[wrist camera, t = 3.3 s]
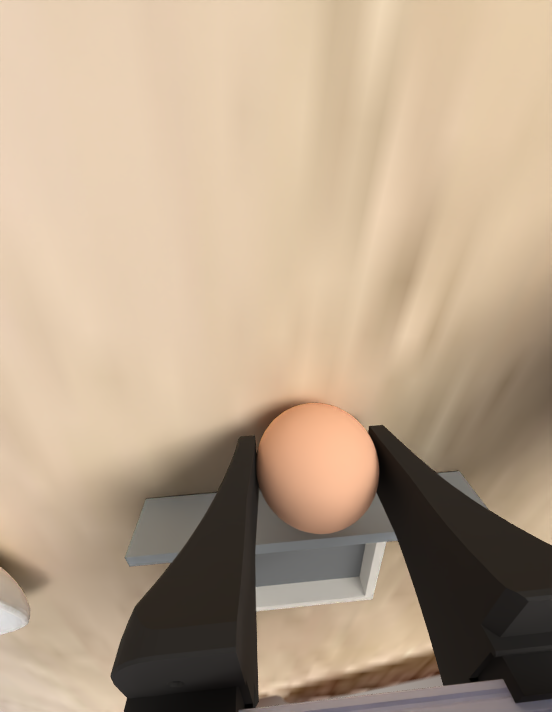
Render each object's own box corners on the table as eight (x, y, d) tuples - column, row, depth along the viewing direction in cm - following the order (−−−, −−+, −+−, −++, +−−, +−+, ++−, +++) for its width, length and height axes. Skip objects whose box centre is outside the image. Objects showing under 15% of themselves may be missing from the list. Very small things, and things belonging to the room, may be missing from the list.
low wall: (146, 498, 16) (124, 557, 13) (459, 471, 17) (497, 521, 14) (149, 507, 16) (129, 566, 14) (455, 480, 17) (492, 531, 14)
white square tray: (221, 507, 17) (218, 533, 15) (388, 492, 17) (399, 516, 16) (239, 590, 22) (238, 615, 20) (369, 577, 22) (377, 601, 21)
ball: (251, 384, 13) (249, 479, 8) (360, 376, 13) (415, 465, 9) (259, 462, 15) (261, 568, 11) (352, 454, 15) (391, 555, 11)
